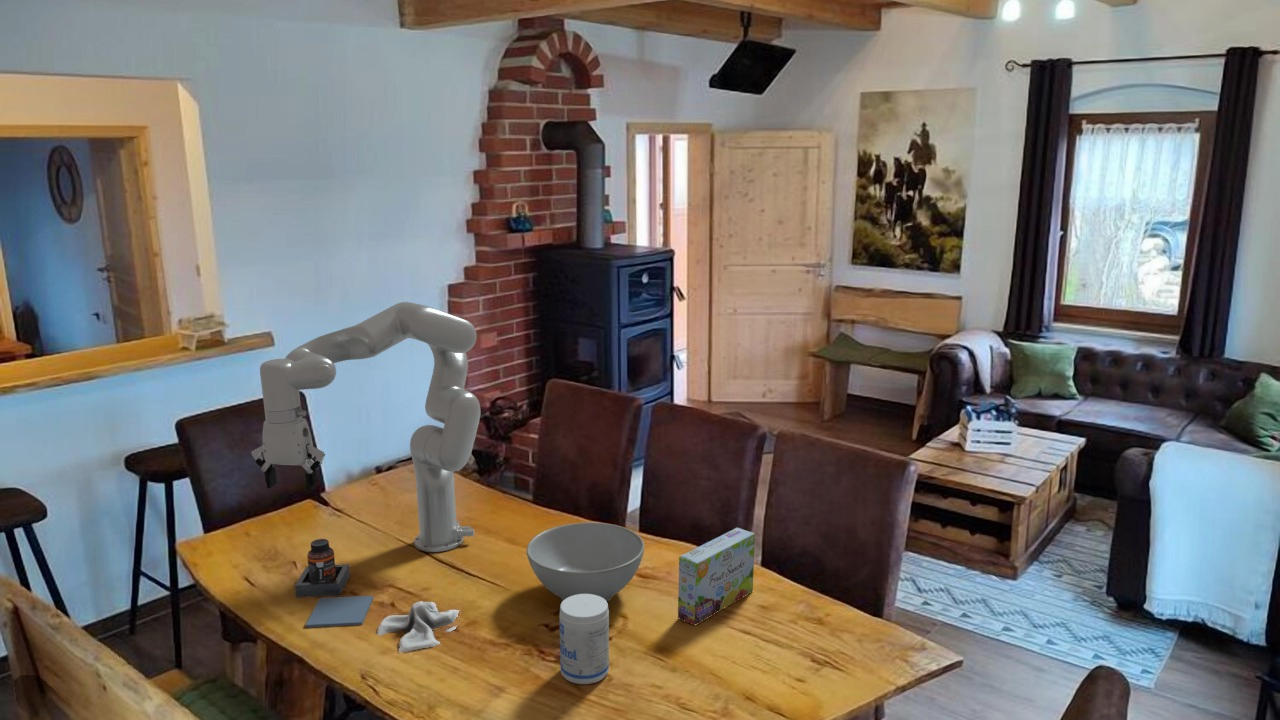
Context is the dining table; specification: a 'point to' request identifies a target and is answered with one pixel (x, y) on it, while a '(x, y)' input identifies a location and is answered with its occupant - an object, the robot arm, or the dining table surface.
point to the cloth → (418, 625)
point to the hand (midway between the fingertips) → (291, 487)
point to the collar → (322, 583)
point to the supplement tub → (584, 638)
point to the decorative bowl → (585, 558)
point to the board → (340, 611)
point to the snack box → (715, 575)
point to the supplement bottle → (321, 562)
